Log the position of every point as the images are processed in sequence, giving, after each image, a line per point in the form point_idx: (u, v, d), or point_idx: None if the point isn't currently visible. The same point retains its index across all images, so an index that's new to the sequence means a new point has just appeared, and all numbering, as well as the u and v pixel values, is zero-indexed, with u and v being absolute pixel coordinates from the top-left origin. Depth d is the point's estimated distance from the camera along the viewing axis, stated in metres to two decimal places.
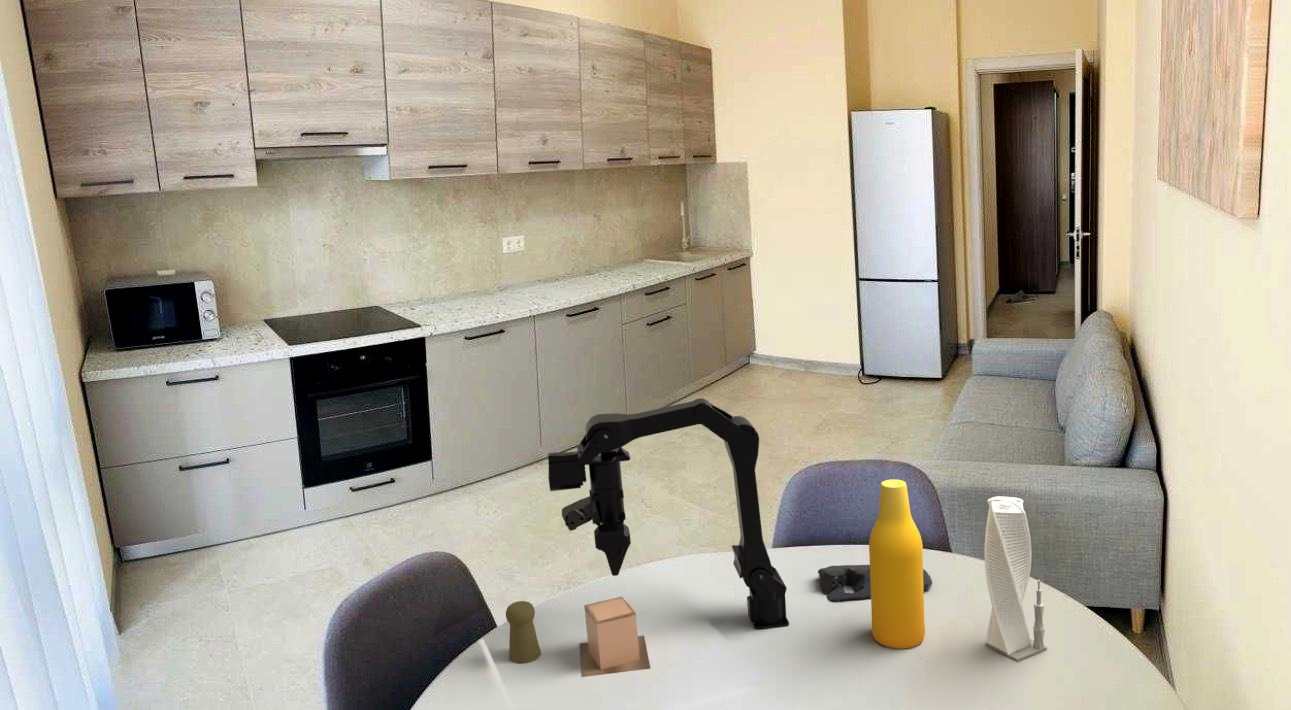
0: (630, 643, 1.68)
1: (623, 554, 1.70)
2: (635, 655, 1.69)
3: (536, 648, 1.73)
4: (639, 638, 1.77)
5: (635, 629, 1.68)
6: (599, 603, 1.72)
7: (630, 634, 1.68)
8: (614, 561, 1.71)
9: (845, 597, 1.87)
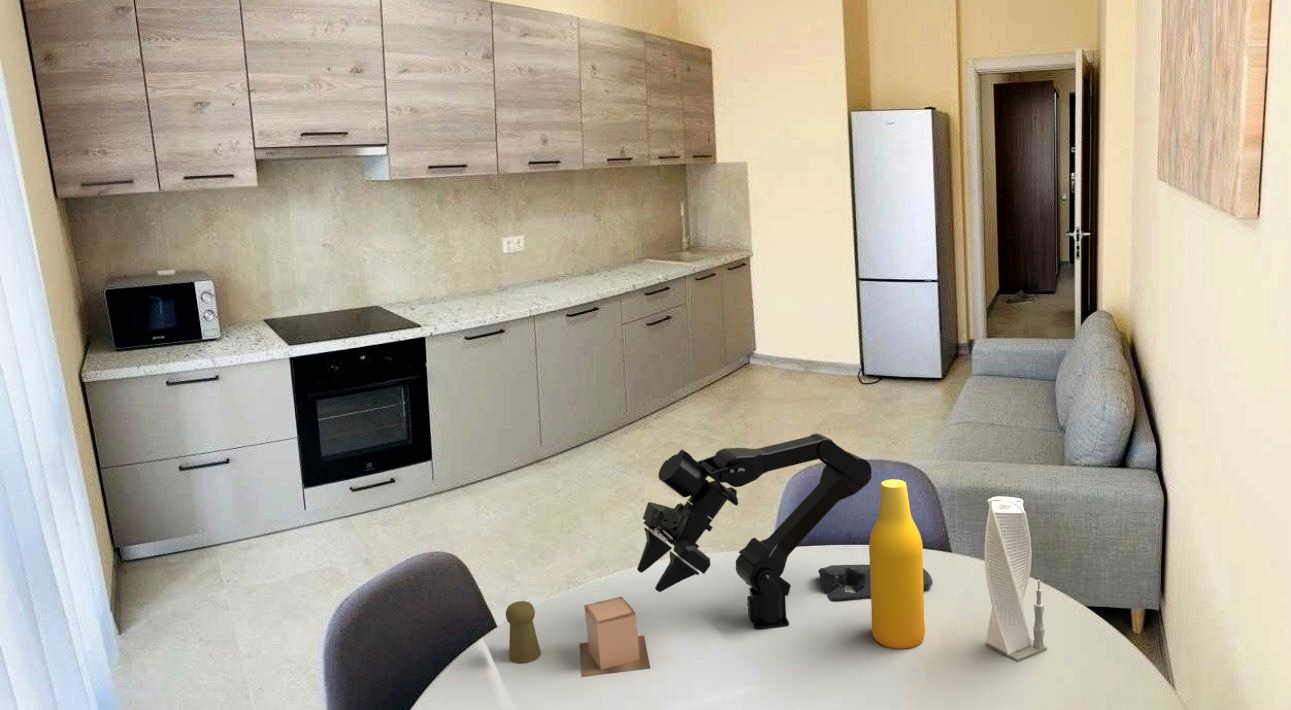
0: (630, 643, 1.68)
1: (682, 578, 1.67)
2: (635, 655, 1.69)
3: (536, 648, 1.73)
4: (639, 638, 1.77)
5: (635, 629, 1.68)
6: (599, 603, 1.72)
7: (630, 634, 1.68)
8: (670, 578, 1.67)
9: (845, 596, 1.87)
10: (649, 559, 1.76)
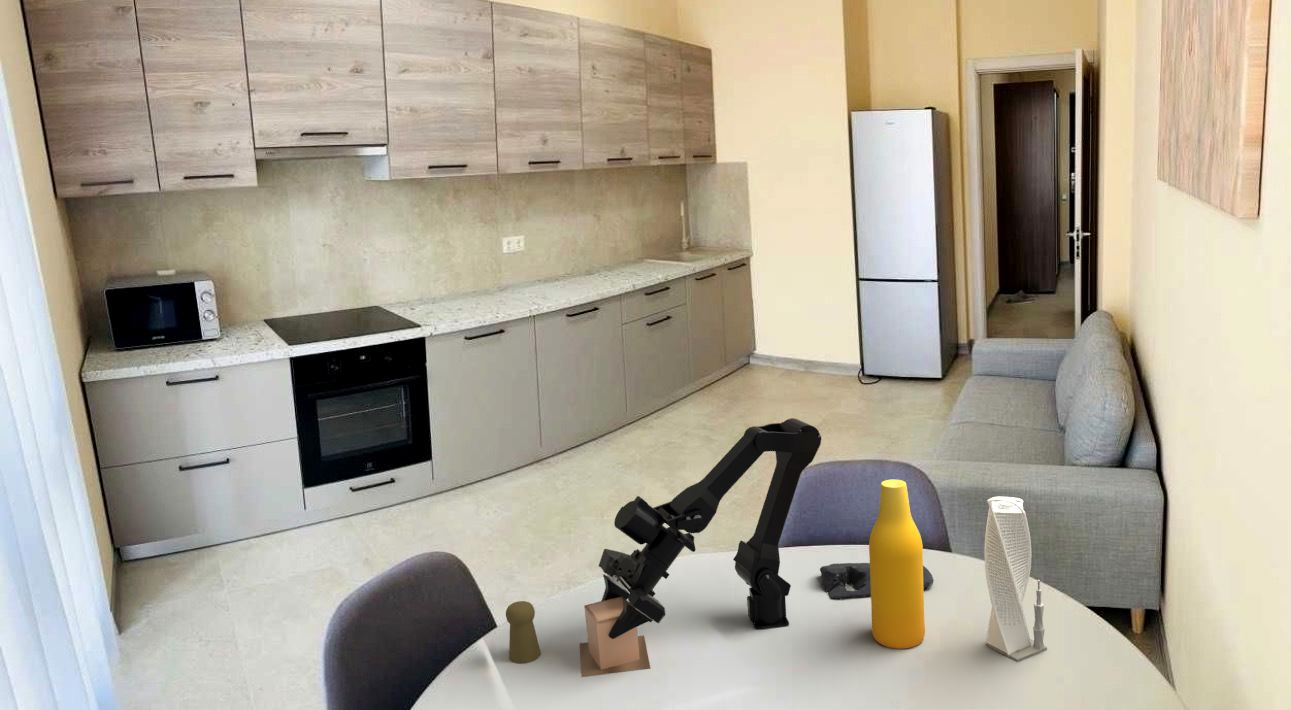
0: (630, 643, 1.68)
1: (636, 625, 1.66)
2: (635, 655, 1.69)
3: (536, 648, 1.73)
4: (639, 638, 1.77)
5: (635, 629, 1.68)
6: (599, 603, 1.72)
7: (630, 634, 1.68)
8: (623, 625, 1.66)
9: (846, 595, 1.87)
10: None
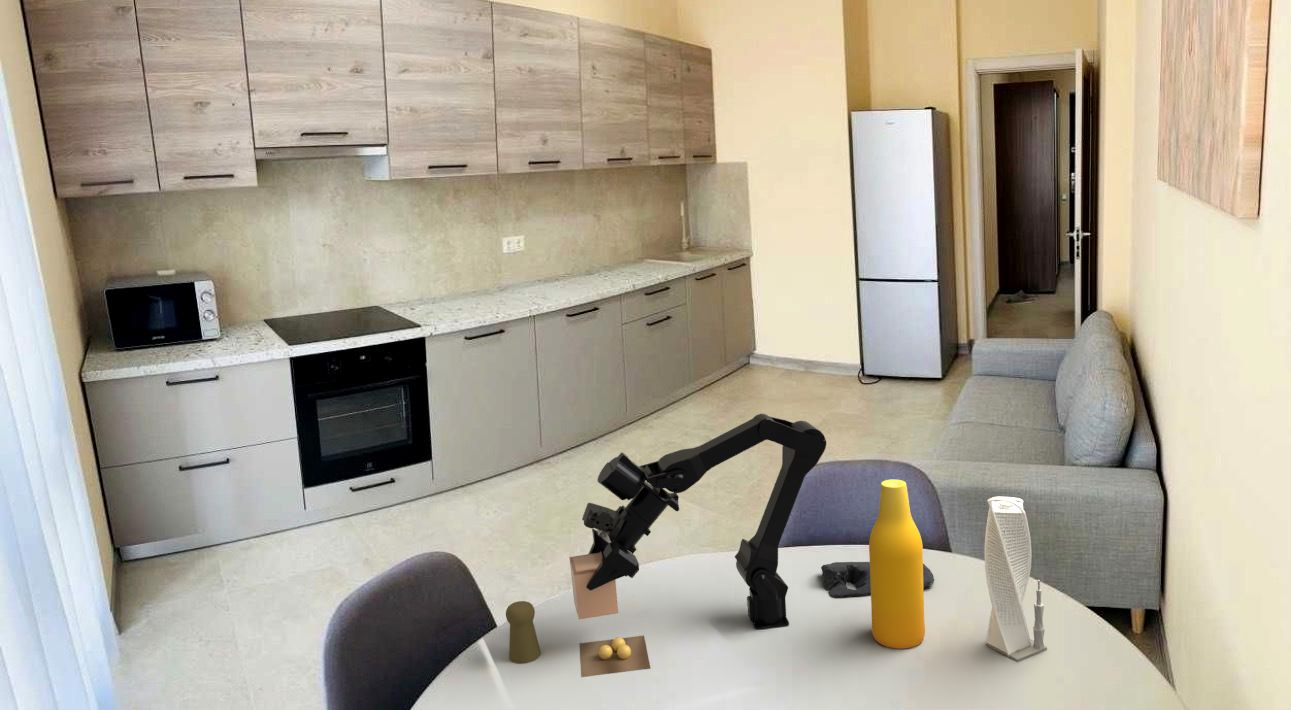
0: (609, 596, 1.71)
1: (612, 578, 1.69)
2: (614, 608, 1.72)
3: (536, 648, 1.73)
4: (639, 638, 1.77)
5: (614, 583, 1.71)
6: (584, 556, 1.76)
7: (608, 588, 1.71)
8: (600, 578, 1.69)
9: (846, 593, 1.88)
10: None
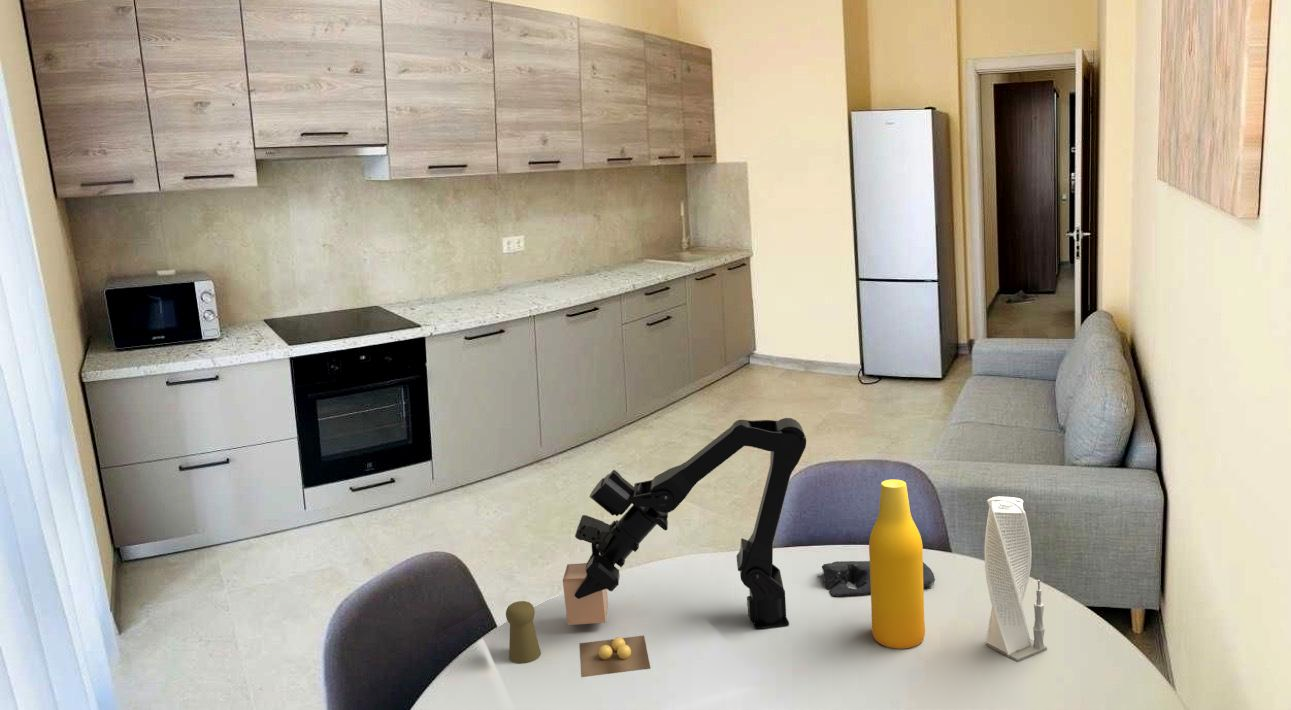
0: (596, 606, 1.79)
1: (597, 589, 1.77)
2: (601, 618, 1.80)
3: (536, 648, 1.73)
4: (639, 638, 1.77)
5: (601, 593, 1.79)
6: (580, 564, 1.85)
7: (596, 597, 1.79)
8: (586, 588, 1.77)
9: (847, 592, 1.88)
10: None
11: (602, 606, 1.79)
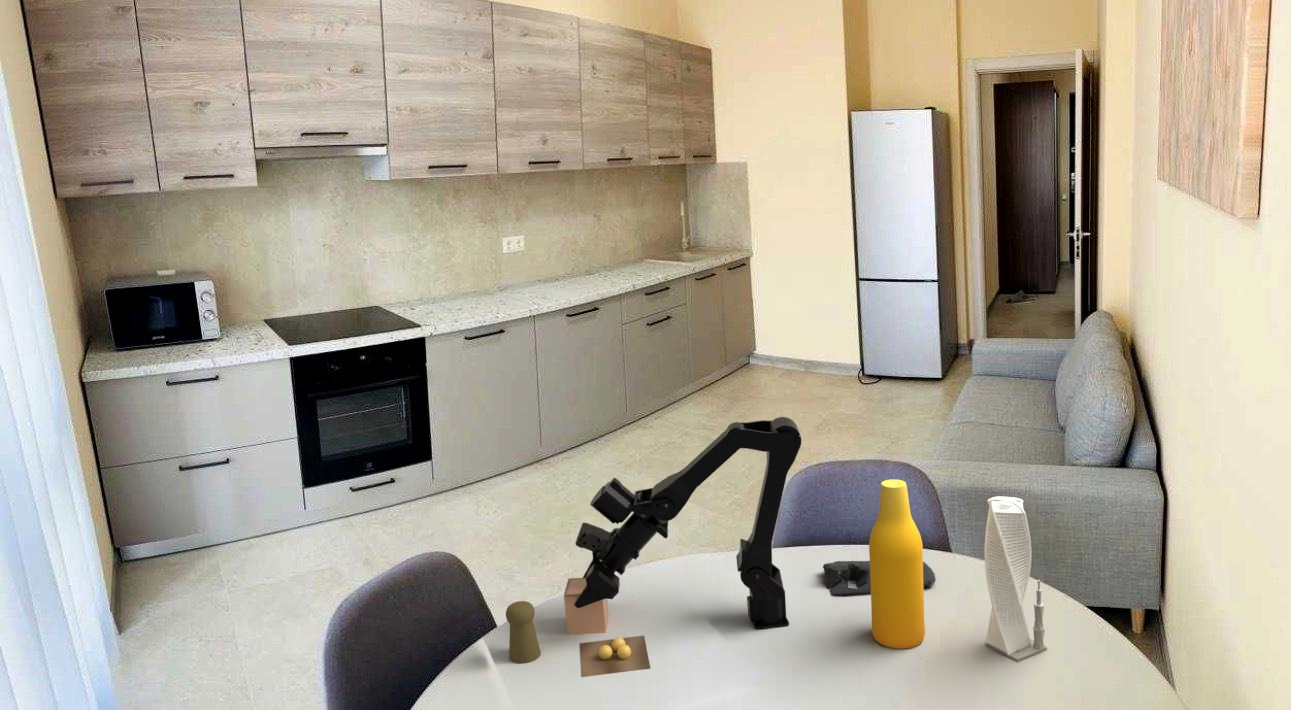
0: (597, 620, 1.80)
1: (597, 599, 1.76)
2: (602, 632, 1.80)
3: (536, 648, 1.73)
4: (639, 638, 1.77)
5: (602, 608, 1.79)
6: (581, 579, 1.85)
7: (597, 612, 1.79)
8: (586, 597, 1.77)
9: (847, 592, 1.89)
10: None
11: (603, 621, 1.80)
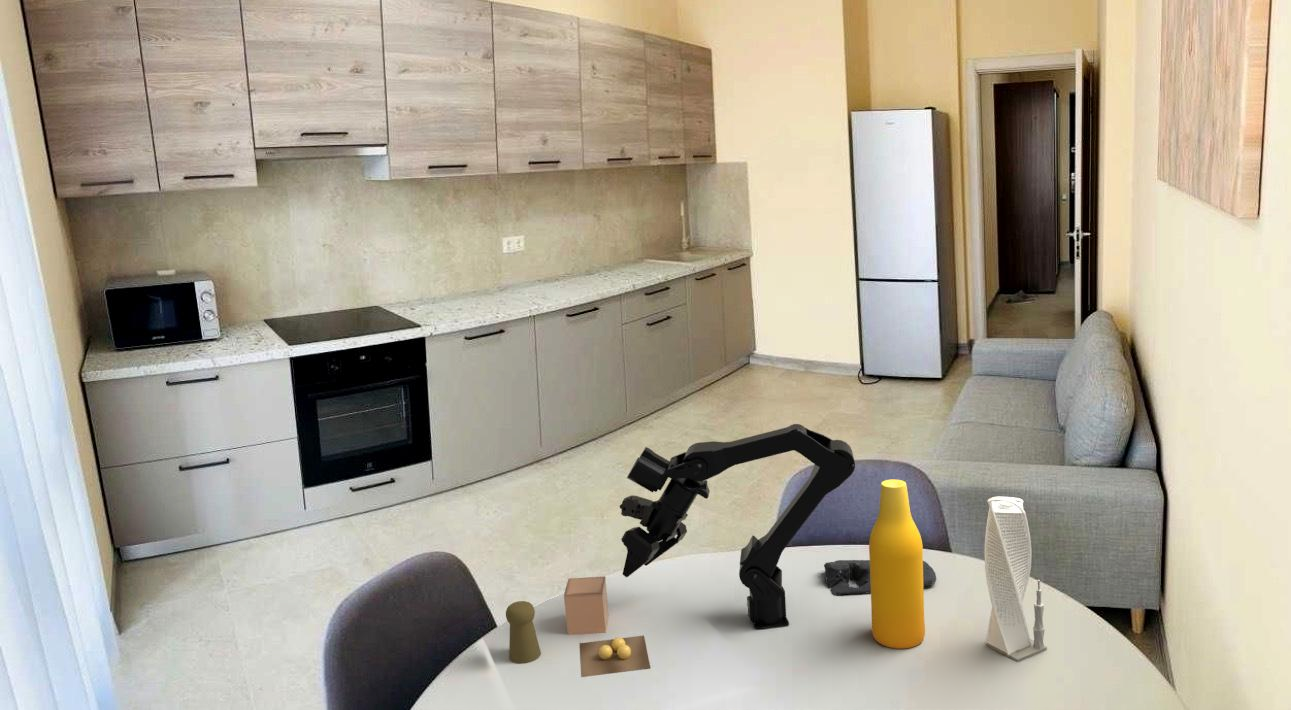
0: (597, 620, 1.80)
1: (640, 564, 1.76)
2: (602, 632, 1.80)
3: (536, 648, 1.73)
4: (639, 638, 1.77)
5: (602, 608, 1.79)
6: (581, 579, 1.85)
7: (597, 612, 1.79)
8: (630, 564, 1.77)
9: (848, 591, 1.89)
10: None
11: (603, 621, 1.80)
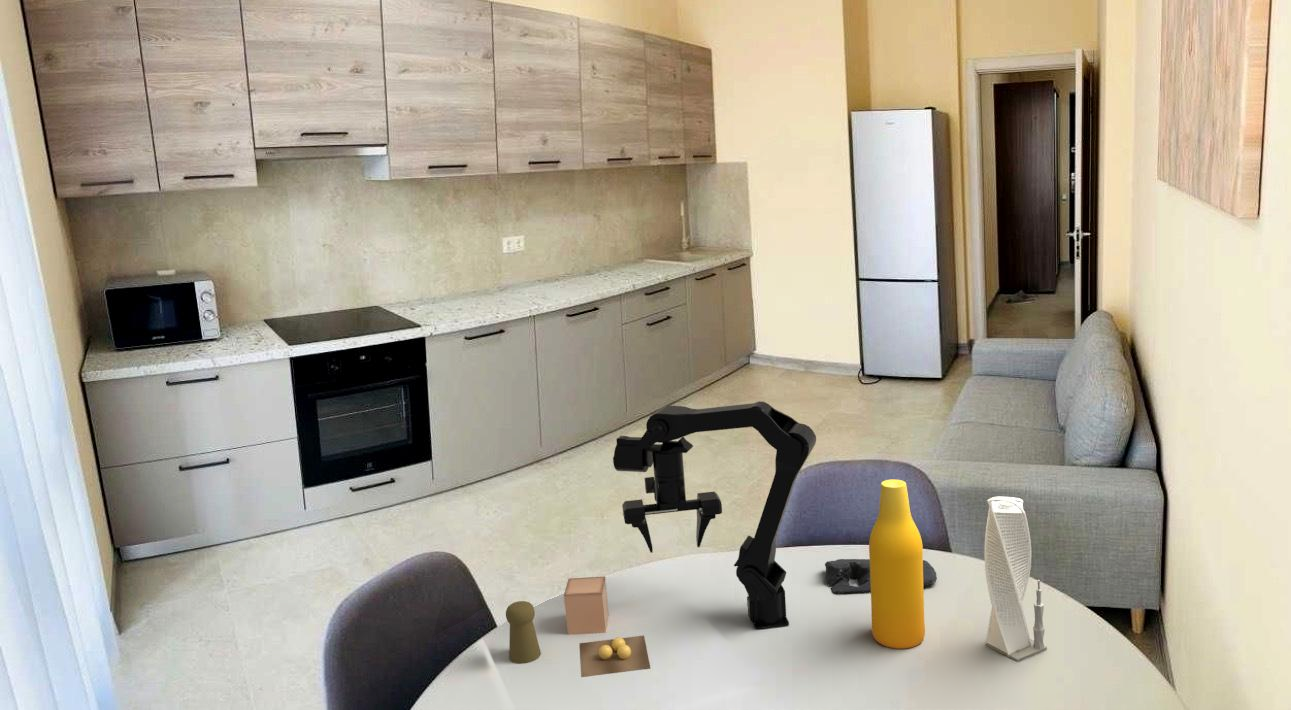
0: (597, 620, 1.80)
1: (642, 534, 1.83)
2: (602, 632, 1.80)
3: (536, 648, 1.73)
4: (639, 638, 1.77)
5: (602, 608, 1.79)
6: (581, 579, 1.85)
7: (597, 612, 1.79)
8: None
9: (848, 590, 1.89)
10: (697, 533, 1.85)
11: (603, 621, 1.80)
